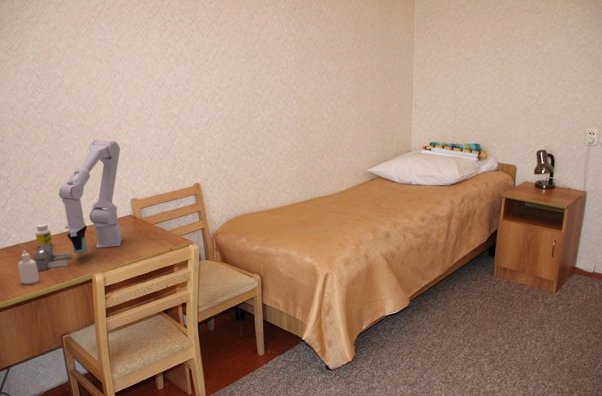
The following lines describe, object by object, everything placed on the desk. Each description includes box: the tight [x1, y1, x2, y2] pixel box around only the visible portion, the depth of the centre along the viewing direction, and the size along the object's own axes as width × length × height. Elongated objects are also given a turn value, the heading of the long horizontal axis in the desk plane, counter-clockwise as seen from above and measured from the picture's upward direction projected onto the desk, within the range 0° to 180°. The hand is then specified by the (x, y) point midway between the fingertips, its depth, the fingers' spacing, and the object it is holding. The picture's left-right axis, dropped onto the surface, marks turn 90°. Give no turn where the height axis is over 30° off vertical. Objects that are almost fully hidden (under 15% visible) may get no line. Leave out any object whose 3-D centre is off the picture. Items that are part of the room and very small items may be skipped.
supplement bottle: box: [35, 223, 53, 250], centre depth 195 cm, size 5×5×10 cm
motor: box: [32, 244, 73, 272], centre depth 180 cm, size 11×12×6 cm
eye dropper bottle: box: [17, 250, 40, 285], centre depth 164 cm, size 4×6×12 cm
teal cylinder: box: [72, 236, 88, 254], centre depth 183 cm, size 5×5×6 cm
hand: (80, 246), depth 184 cm, fingers closed on teal cylinder, 5 cm apart
